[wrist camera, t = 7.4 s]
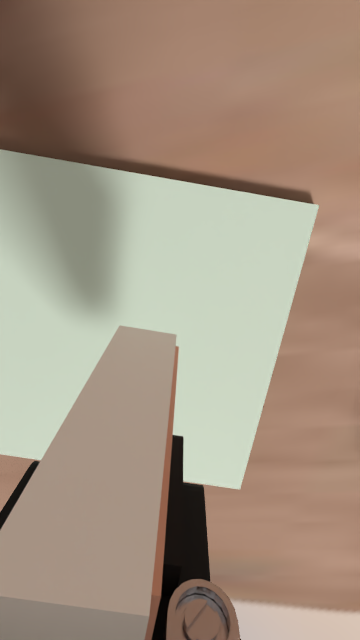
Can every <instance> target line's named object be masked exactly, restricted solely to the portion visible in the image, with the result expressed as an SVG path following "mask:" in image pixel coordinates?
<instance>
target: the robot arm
mask: <svg viewBox="0 0 360 640" xmlns="http://www.w3.org/2000/svg"><path fill="white" fill-rule="evenodd" d="M183 444H184V438H183V436H177V435H173V436H172V450H171V464H170V478H169V491H168V505H167V519H166V533H165V547H164V560H163V574H162V588H161V598H160V603H159V607H158V612H157V616H156V621H155V625H154V630H153V635H152V639H151V640H241V639H240V635H239V626H238V620H237V617H236V612H235V609H234V607H233V605H232V603H231V601H230V599H229V597H228V596H227V595H226V594H225V593H224V592H223V590H222V589H221V588H219V587H218V586H216V585H215V584H213V583H212V582H210V571H209V556H208V541H207V527H206V512H205V497H204V487H203V485H197V484H190V483H183ZM39 463H40V462H38V461H34V462H33V463H32V464H31V465H30V467H29V468H28V470H27V471H26V473H25V474H24V476H23V478H22V479H21V481H20V482H19V484H18V485H17V487H16V489H15V490H14V492H13V493H12V495H11V496H10V498H9V500H8V501H7V503H6V504H5V506H4V507H3V509H2V511H1V512H0V530H1V528H2V526H3V525H4V523H5V521H6V519H7V518H8V516H9V514H10V513H11V511H12V509H13V507H14V506H15V504H16V502H17V501H18V499H19V497H20V495H21V494H22V492H23V490H24V489H25V487H26V485H27V483H28V482H29V480H30V478H31V477H32V475H33V473H34V471H35V470H36V468H37V466H38V465H39Z"/></svg>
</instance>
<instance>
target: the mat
mask: <svg viewBox="0 0 360 640" xmlns="http://www.w3.org/2000/svg"><path fill="white" fill-rule="evenodd" d="M318 208H319V205H315V204H309V203H304V202H298V201H292V200H287V199H281V198H275V197H269V196H264V195H258V194H252V193H247V192H241V191H235V190H230V189H224V188H218V187H212V186H207V185H201V184H195V183H190V182H184V181H178V180H172V179H167V178H161V177H155V176H150V175H144V174H138V173H132V172H127V171H121V170H115V169H110V168H104V167H98V166H92V165H87V164H81V163H75V162H70V161H64V160H58V159H52V158H47V157H41V156H35V155H30V154H24V153H18V152H12V151H7V150H1V149H0V454H3V455H10V456H17V457H23V458H30V459H37V460H41V459H42V458H43V456H44V454H45V452H46V451H47V449H48V447H49V446H50V444H51V442H52V440H53V439H54V437H55V435H56V434H57V432H58V430H59V428H60V427H61V425H62V423H63V422H64V420H65V418H66V416H67V415H68V413H69V411H70V410H71V408H72V406H73V404H74V403H75V401H76V399H77V398H78V396H79V394H80V392H81V391H82V389H83V387H84V385H85V384H86V382H87V380H88V379H89V377H90V375H91V373H92V372H93V370H94V368H95V367H96V365H97V363H98V361H99V360H100V358H101V356H102V355H103V353H104V351H105V349H106V348H107V346H108V344H109V343H110V341H111V339H112V337H113V336H114V334H115V332H116V331H117V329H118V327H119V325H121V326H127V327H133V328H139V329H145V330H152V331H158V332H164V333H170V334H176V335H177V336H176V346H179V353H178V367H177V381H176V395H175V408H174V422H173V435H177V436H183V438H184V444H183V481H186V482H193V483H200V484H207V485H213V486H220V487H227V488H234V489H240V487H241V484H242V480H243V477H244V473H245V469H246V466H247V462H248V459H249V455H250V451H251V448H252V444H253V441H254V437H255V434H256V430H257V426H258V423H259V419H260V416H261V412H262V408H263V405H264V401H265V398H266V394H267V390H268V387H269V383H270V380H271V376H272V373H273V369H274V365H275V362H276V358H277V355H278V351H279V347H280V344H281V340H282V337H283V333H284V329H285V326H286V322H287V319H288V315H289V312H290V308H291V304H292V301H293V297H294V294H295V290H296V286H297V283H298V279H299V276H300V272H301V269H302V265H303V261H304V258H305V254H306V251H307V247H308V243H309V240H310V236H311V233H312V229H313V225H314V222H315V218H316V215H317V211H318Z"/></svg>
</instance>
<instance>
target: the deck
mask: <svg viewBox="0 0 360 640" xmlns="http://www.w3.org/2000/svg"><path fill="white" fill-rule="evenodd" d="M176 336H177V335H176V334H170V333H164V332H158V331H152V330H145V329H139V328H133V327H127V326H121V325H119V327H118V329H117V331H116V332H115V334H114V336H113V337H112V339H111V341H110V343H109V344H108V346H107V348H106V349H105V351H104V353H103V355H102V356H101V358H100V360H99V361H98V363H97V365H96V367H95V368H94V370H93V372H92V373H91V375H90V377H89V379H88V380H87V382H86V384H85V385H84V387H83V389H82V391H81V392H80V394H79V396H78V398H77V399H76V401H75V403H74V404H73V406H72V408H71V410H70V411H69V413H68V415H67V416H66V418H65V420H64V422H63V423H62V425H61V427H60V428H59V430H58V432H57V434H56V435H55V437H54V439H53V440H52V442H51V444H50V446H49V447H48V449H47V451H46V452H45V454H44V456H43V458H42V459H41V461H40V463H39V465H38V466H37V468H36V470H35V471H34V473H33V475H32V477H31V478H30V480H29V482H28V483H27V485H26V487H25V489H24V490H23V492H22V494H21V495H20V497H19V499H18V501H17V502H16V504H15V506H14V507H13V509H12V511H11V513H10V514H9V516H8V518H7V519H6V521H5V523H4V525H3V526H2V528H1V530H0V640H151V639H152V635H153V630H154V625H155V621H156V616H157V612H158V607H159V603H160V598H161V588H162V574H163V560H164V547H165V533H166V519H167V505H168V491H169V478H170V464H171V450H172V436H173V422H174V408H175V395H176V381H177V367H178V353H179V346H176Z"/></svg>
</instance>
